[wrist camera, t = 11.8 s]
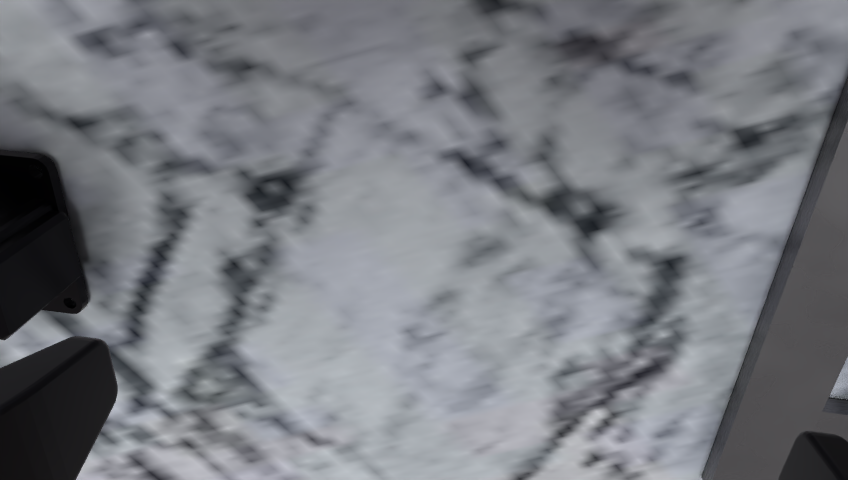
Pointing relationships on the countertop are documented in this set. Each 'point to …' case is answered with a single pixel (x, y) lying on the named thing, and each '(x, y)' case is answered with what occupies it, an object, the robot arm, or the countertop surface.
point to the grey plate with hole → (796, 333)
